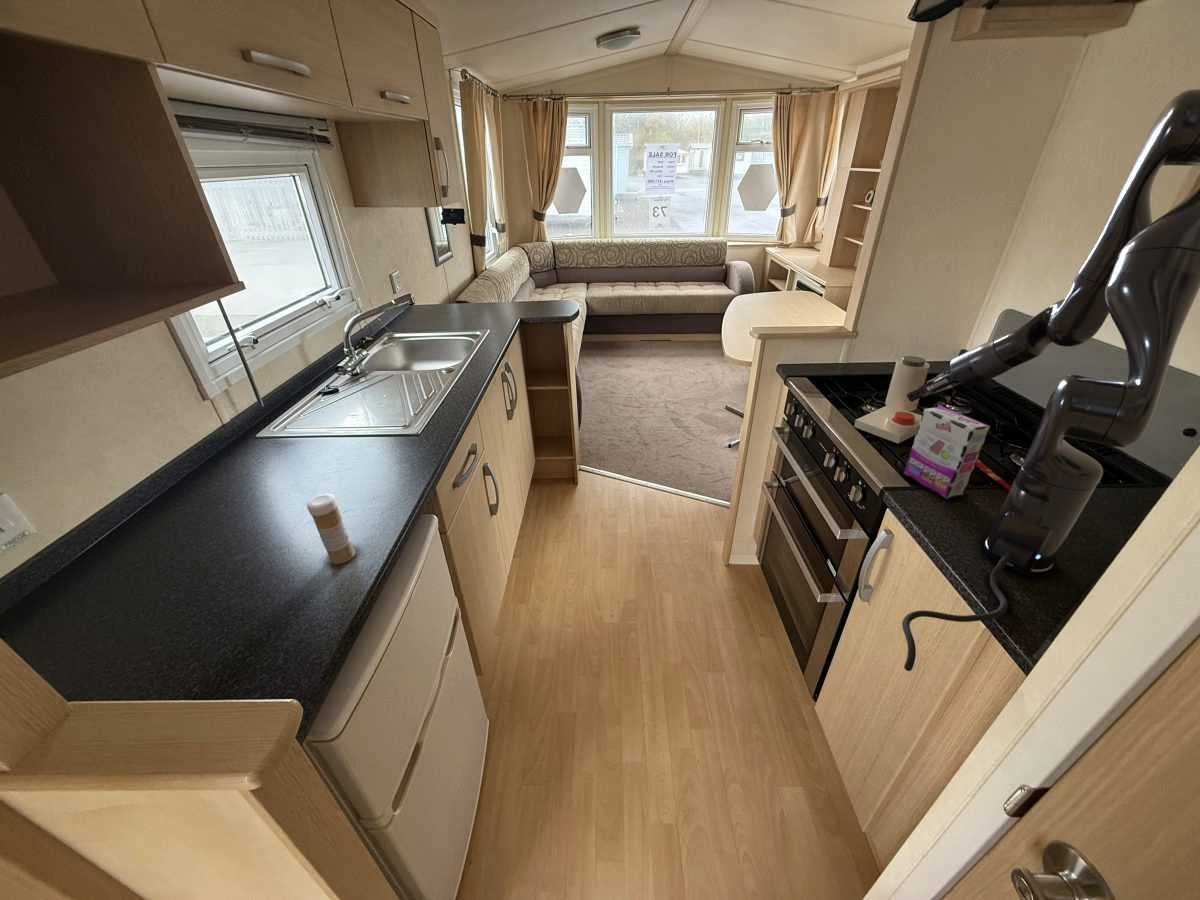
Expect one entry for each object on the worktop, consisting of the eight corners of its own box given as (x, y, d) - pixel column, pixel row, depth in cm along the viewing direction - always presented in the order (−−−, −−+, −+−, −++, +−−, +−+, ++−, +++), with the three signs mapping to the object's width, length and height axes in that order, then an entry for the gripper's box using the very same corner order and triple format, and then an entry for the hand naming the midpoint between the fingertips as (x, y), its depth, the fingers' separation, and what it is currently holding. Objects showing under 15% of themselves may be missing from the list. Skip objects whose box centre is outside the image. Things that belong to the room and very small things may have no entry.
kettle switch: (906, 427, 121) (909, 420, 120) (889, 421, 124) (891, 414, 123) (916, 423, 123) (918, 415, 122) (898, 417, 126) (900, 410, 125)
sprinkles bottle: (335, 550, 94) (312, 493, 87) (359, 548, 94) (338, 491, 88) (326, 566, 90) (301, 508, 83) (351, 564, 90) (328, 506, 84)
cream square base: (902, 445, 120) (907, 431, 118) (853, 426, 130) (857, 413, 128) (935, 428, 128) (940, 414, 126) (886, 411, 138) (890, 398, 136)
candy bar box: (964, 495, 101) (992, 426, 93) (946, 500, 100) (973, 430, 92) (919, 469, 111) (941, 404, 103) (902, 473, 110) (923, 408, 101)
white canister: (907, 413, 127) (921, 366, 121) (879, 404, 133) (891, 358, 126) (922, 406, 131) (937, 359, 124) (894, 397, 136) (907, 352, 130)
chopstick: (1022, 504, 98) (1024, 500, 97) (950, 447, 119) (951, 443, 118) (1032, 503, 98) (1034, 500, 97) (958, 446, 118) (959, 443, 118)
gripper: (986, 343, 109) (915, 379, 124) (958, 354, 103) (887, 390, 118) (1005, 371, 108) (931, 404, 123) (977, 385, 101) (903, 417, 117)
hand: (909, 397), depth 120 cm, fingers closed
